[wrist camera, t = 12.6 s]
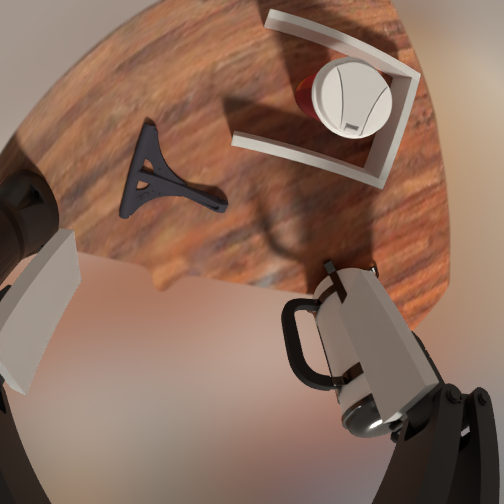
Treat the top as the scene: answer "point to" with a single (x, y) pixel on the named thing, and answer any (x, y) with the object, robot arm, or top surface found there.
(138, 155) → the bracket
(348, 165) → the box
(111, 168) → the top surface
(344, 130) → the paper cup
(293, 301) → the coffee press
